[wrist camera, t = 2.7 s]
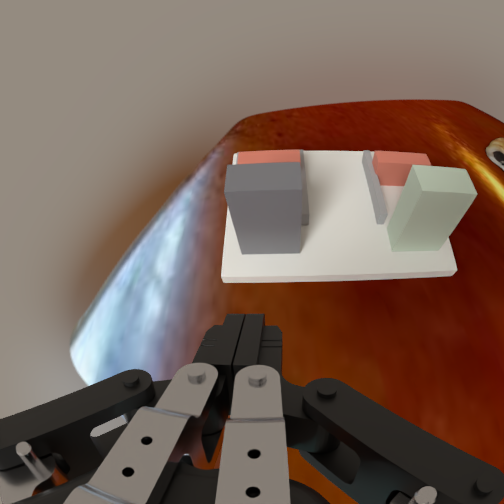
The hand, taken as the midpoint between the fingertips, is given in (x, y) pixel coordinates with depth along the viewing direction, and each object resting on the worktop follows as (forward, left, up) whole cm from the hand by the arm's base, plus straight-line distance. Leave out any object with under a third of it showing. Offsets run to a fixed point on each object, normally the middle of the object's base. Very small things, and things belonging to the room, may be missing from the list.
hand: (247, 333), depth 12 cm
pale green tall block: (-16, -14, -16) cm, 26 cm away
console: (-8, -19, -17) cm, 27 cm away
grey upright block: (0, -14, -15) cm, 21 cm away
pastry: (-41, -31, -18) cm, 55 cm away
